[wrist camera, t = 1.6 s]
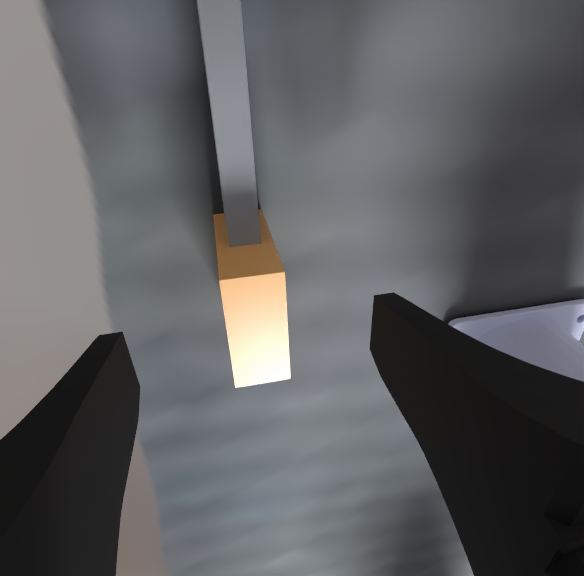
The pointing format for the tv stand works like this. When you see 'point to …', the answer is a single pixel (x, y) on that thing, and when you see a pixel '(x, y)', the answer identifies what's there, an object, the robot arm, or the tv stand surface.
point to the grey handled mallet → (242, 210)
